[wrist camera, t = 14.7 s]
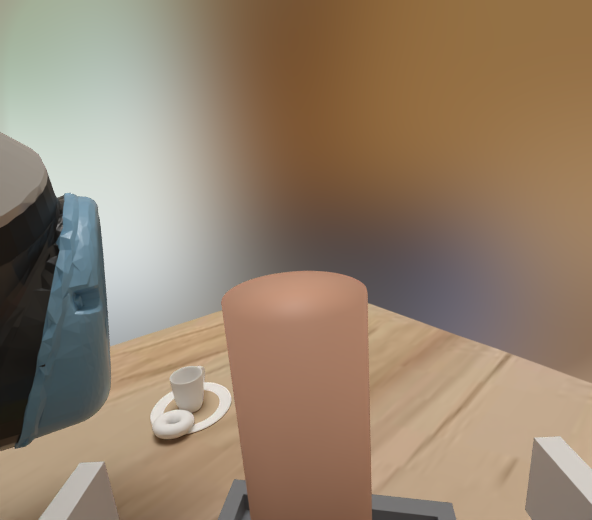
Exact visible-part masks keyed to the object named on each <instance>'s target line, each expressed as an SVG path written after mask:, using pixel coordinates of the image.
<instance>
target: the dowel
mask: <svg viewBox="0 0 592 520" xmlns="http://www.w3.org/2000/svg"><path fill="white" fill-rule="evenodd" d="M221 304H222V311H223V318H224V326H225V333H226V340H227V348H228V355H229V362H230V370H231V377H232V384H233V392H234V399H235V406H236V414H237V421H238V428H239V436H240V443H241V450H242V458H243V465H244V473H245V480H246V487H247V495H248V502H249V509H250V517H251V520H372V493H371V445H370V397H369V349H368V301H367V289H366V287H365V285H364V284H363V283H361V282H360V281H358V280H356V279H354V278H352V277H349V276H346V275H342V274H337V273H331V272H321V271H294V272H284V273H276V274H271V275H266V276H262V277H258V278H254V279H251V280H248V281H246V282H243V283H241V284H239V285H237V286H235V287H233V288H232V289H231V290H229V291H228V292H227V293H226V294H225V295H224V296H223V298H222V302H221Z"/></svg>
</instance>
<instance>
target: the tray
mask: <svg viewBox="0 0 592 520" xmlns="http://www.w3.org/2000/svg"><path fill="white" fill-rule="evenodd" d="M218 520H251V517H250V509H249V502H248V495H247V487H246V481H245V480H236V479H234V481H233V483H232V486H231V488H230V491H229V493H228V496H227V498H226V501H225V503H224V505H223V508H222V510H221V513H220V515H219V518H218ZM372 520H456V517H455V513H454V509H453V506H452V503H447V502H438V501H428V500H419V499H410V498H401V497H392V496H383V495H373V494H372Z"/></svg>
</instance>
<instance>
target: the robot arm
mask: <svg viewBox="0 0 592 520" xmlns="http://www.w3.org/2000/svg"><path fill="white" fill-rule="evenodd" d="M110 387H111V362H110V342H109V326H108V311H107V297H106V284H105V272H104V259H103V247H102V237H101V226H100V219H99V215H98V207H97V204H96V202H95V201H94V200H92V199H91V198H88V197H80V196H76V195H74V194H71V193H65V194H64V195H63V196H61V197H58V198H57V197H56V196H55V193H54V191H53V188H52V185H51V182H50V179H49V176H48V173H47V170H46V168H45V166H44V164H43V162H42V160H41V158H40V156H39V155H38V154H37V153H36V152H35V151H33V150H32V149H31V148H29V147H27V146H25V145H23V144H21V143H20V142H18V141H16V140H14V139H12V138H10V137H8V136H7V135H5V134H3V133H1V132H0V451H2V450H6V449H9V448H13V447H15V449H16V448H21V447H25V446H27V445H28V444H30V443H31V442H32V440H33V439H36V438H38V437H41V436H44V435H47V434H50V433H52V432H55V431H58V430H61V429H64V428H67V427H69V426H72V425H75V424H78V423H80V422H83V421H85V420H87V419H89V418H90V417H92V416H93V415H94V414H95V413H97V412H98V411H99V410H100V409H101V407H102V406H103V405H104V403H105V401H106V400H107V397H108V395H109V391H110ZM525 510H526V511H527V513H528V514H529V516H530V517H531V519H532V520H592V469H591V468H590V467H589V466H588V465H587V464H586V463H585V462H584V461H583V460H582V459H581V458H580V457H579V456H578V455H577V454H576V453H575V451H574V450H573V449H572V448H571V447H570V446H569V445H568V444H567V443H566V442H565V441H564V440H563V439H562V438H561V437H560V436H557V437H539V438H534V442H533V450H532V458H531V466H530V474H529V482H528V490H527V498H526V506H525ZM39 520H119V516H118V512H117V508H116V504H115V500H114V496H113V493H112V489H111V485H110V481H109V477H108V473H107V469H106V466H105V462H85V463H80V464H79V465H78V466H77V468H76V469H75V470H74V472H73V473H72V475H71V476H70V477H69V479H68V480H67V481H66V483H65V484H64V485H63V487H62V488H61V490H60V491H59V492H58V494H57V495H56V496H55V498H54V499H53V500H52V502H51V503H50V505H49V506H48V507H47V509H46V510H45V511H44V513H43V514H42V515H41V517H40V518H39Z"/></svg>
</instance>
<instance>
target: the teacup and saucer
mask: <svg viewBox="0 0 592 520" xmlns="http://www.w3.org/2000/svg"><path fill="white" fill-rule="evenodd" d="M204 380H205V369H204V367H202V366H197V367H196V366H188V367H183V368H181V369H178V370H176V371H175V372H174V373H172V375H171V376H170V383H171V387H172V391H171V392H170V393H168V394H167V395H165V396H164V397H163V398H161V399H160V400H159V401H158V402H157V404H156V405H155V406H154V408H153V410H152V412H151V416H150V420H151V424H152V430H153V432H154V434H155V435H156V436H157V437H159V438H161V439H173V438H177V437H180V436H182V435H184V434H190V433H194V432H197V431H200V430H203V429H205V428H207V427H209V426H211V425H212V424H214V423H215V422H217V421H218V420H219V419H221V418H222V417H223V416H224V415H225V413H226V412H227V411H228V409H229V407H230V404H231V394H230V392H229V391H228V390H227V389H226V388H225V387H224V386H222V385H219V384H216V383H211V382H204ZM204 390H209V391H212V392H214V393H216V394H217V395H218V397H219V399H220V404H219V407H218V409H217V410H216V411H215V413H214V414H212V415H211V416H210V417H209V418H207V419H206V420H204V421H202V422H199V423H197V424H194V416H193V414H192V413H193V412H195V411H197V410H198V409H200V408H201V406H202V403H203V398H204ZM174 398H175V401H176V404H177V406H178V408H179V409H180V410H172V411H169V412H166V413H164V414H163V412H164V409H165V407H166V406H167V405H168V404H169V403H170V402H171V401H172V400H173V399H174ZM174 423H175V424H174ZM193 424H194V425H193Z"/></svg>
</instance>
